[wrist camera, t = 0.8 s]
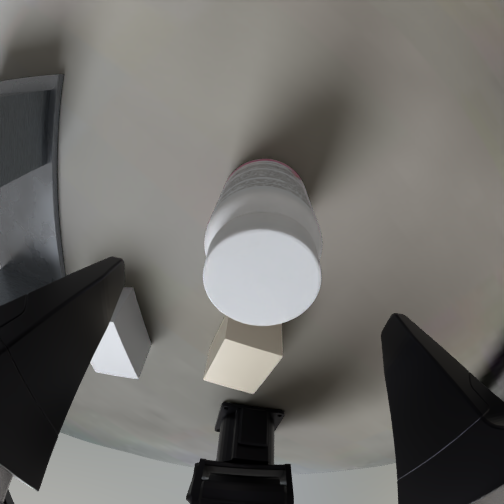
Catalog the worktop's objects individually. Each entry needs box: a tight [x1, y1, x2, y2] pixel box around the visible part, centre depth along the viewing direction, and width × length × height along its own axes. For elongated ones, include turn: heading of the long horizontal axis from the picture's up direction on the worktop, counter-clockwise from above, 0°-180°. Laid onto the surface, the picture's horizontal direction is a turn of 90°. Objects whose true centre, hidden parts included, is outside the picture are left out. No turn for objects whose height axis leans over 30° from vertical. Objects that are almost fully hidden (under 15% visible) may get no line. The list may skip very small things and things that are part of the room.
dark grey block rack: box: [0, 74, 66, 306], centre depth 16 cm, size 22×8×6 cm, turn 168°
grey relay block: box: [90, 287, 152, 379], centre depth 21 cm, size 6×4×4 cm, turn 2°
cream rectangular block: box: [203, 315, 283, 394], centre depth 21 cm, size 5×4×4 cm
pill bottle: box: [203, 159, 323, 326], centre depth 14 cm, size 5×5×8 cm
